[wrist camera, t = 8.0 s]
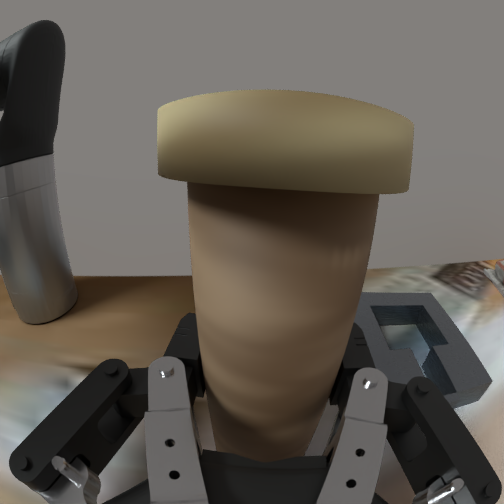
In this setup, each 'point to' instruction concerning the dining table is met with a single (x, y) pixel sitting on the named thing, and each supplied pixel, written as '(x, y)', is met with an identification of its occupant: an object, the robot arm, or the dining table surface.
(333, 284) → the walnut peg
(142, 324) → the dining table surface
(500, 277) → the packaged product
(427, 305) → the keyhole plate
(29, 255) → the robot arm
